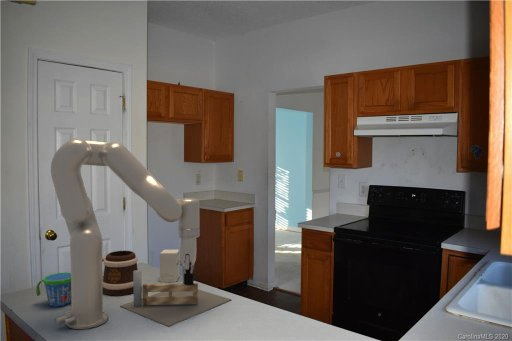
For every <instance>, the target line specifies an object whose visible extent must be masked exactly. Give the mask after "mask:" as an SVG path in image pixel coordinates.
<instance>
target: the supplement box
mask: <svg viewBox="0 0 512 341" xmlns="http://www.w3.org/2000/svg"><path fill="white" fill-rule="evenodd" d="M180 267H181V265H180V249H163V250H162V251H161V252H160V253H159V282H160V283H161V282H162V283H176V282H177V281H178V280H179V278H180V274H181V273H180V271H181V270H180Z"/></svg>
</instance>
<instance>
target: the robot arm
mask: <svg viewBox="0 0 512 341" xmlns="http://www.w3.org/2000/svg"><path fill="white" fill-rule="evenodd" d="M83 165H84V166H85V165H86V166H95V167H97V166H98V167H108V168H109V169H110V170H111V171H112V172H113V173H114V174H115V175H116V176H117V177H118V178H119V179H120V181H122V182H123V183H124V185H126V186H127V187H128V189H130V190H131V191H132V192H133V193H134V194H135V195H137V196H138V197H140V198H141V199H142V200H143V201H144V202H146V203H147V204H148V205H149V207H151V208H152V209H153V211H155V213H156V215H157V216H158V217H159V218H160V219H161V220H163V221H164V222H167V223H175V222H178V225H177V226H178V238H180V249H179V250H180V267H183V265H184V285H193V283H194V282H195V262H196V260H197V238H199V237H200V235H201V233H200V232H201V231H200V228H201V227H200V225H201V224H200V223H201V222H200V218H201V217H200V200H199V199H198V198H196V197H195V198H194V197H185V198H184V197H183V198H175V197H174V196H173V194H171V193H170V192H169V191H168V190H167V188H165V187H164V186H163V184H161V183H160V182H159V181H158V180H157V178H156V177H155V176H154V175H153V174H152V173H151V172H150V171H149V170H148V169H147V168H146V167H145V166H144V165H143V164H142V163H141V162H140V161H139V159H137V157H135V156H134V155H133V153H132V152H131V151H130V150H129V149H128V148H127V147H126V146H125V145H124V144H122V143H121V142H118V141H112V142H104V141H95V140H85V139H82V138H80V137H79V138H72V139H70V140H69V139H68V140H67V141H66V142H64V143H63V144H62V145H61V146H60V147H59V148H58V149H57V150H56V151H55V153H54V155H53V157H52V160H51V163H50V175H51V180H52V183H53V186H54V191H55V194H56V197H57V198H56V199H57V201H58V204H59V209H60V213H61V216H62V218H63V219H64V221H65V223H66V227H67V230H68V233H69V236H70V240H69V252H70V253H69V256H70V259H69V260H70V273H71V302H70V303H71V304H70V305H71V309H69V310H67V313H66V314H65V315H62V316H58V317H56V318H55V323H56V324H57V325H59V324H62V323H64V325H66V327H68V328H69V329H74V330H87V329H92V328H96V327H98V326H100V325H103V324H105V323H106V322H107V321H108V319H109V315H108V313H107V312H105V311H104V310H103V309H104V307H103V306H104V303H103V301H104V300H103V299H104V295H103V294H104V292H103V285H102V275H103V262H102V256H103V248H104V245H103V244H104V243H103V235H102V232H101V230H100V226H99V223H98V220H97V217H96V214H95V210H94V206H93V204H92V202H91V201H92V200H91V199H90V197H89V196H88V193H87V191H86V187H85V184H84V179H83V177H82V172H81V169H82V166H83ZM192 268H193V273H192Z"/></svg>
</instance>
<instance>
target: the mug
mask: <svg viewBox="0 0 512 341" xmlns="http://www.w3.org/2000/svg"><path fill="white" fill-rule="evenodd" d="M102 263H103V265H104V268H103V274H102V285H103V294H105V295H108V296H125V295H130V294H134V284H133V271H135V270H139V269H138V257H137V256H136V253H135V252H134V251H131V250H116V251H115V250H114V251H110V252H109V253H108V254H106V255H105V256H103V255H102Z"/></svg>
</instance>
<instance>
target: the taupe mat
mask: <svg viewBox="0 0 512 341" xmlns="http://www.w3.org/2000/svg"><path fill="white" fill-rule="evenodd" d="M156 296H169V292H156V293H154V294H152V295H148V297H156ZM172 296H193V291H190V292H172ZM231 301H232V298H228V297H225V296H221V295H218V294H215V293H212V292H208V291H205V290H202V289H199V288H198V304H164V305H143V298H142V306H141V307H134V300H133V301H130V302H127V303H124V304H120V305H119V307H120V308H122V309H124V310H126V311H128V312H132V313H134V314H135V315H139V316H141V317H144V318H146V319H149V320H151V321H153V322H156V323H158V324H161V325H163V326H166V327H168V328H169V327H171V326H174V325H177V324H179V323H181V322H184V321H187V320H188V319H191V318H193V317H195V316H198V315H200V314H203V313H205V312H207V311H210V310H211V309H215V308H217V307H219V306H221V305H224V304H226V303H228V302H231Z"/></svg>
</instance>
